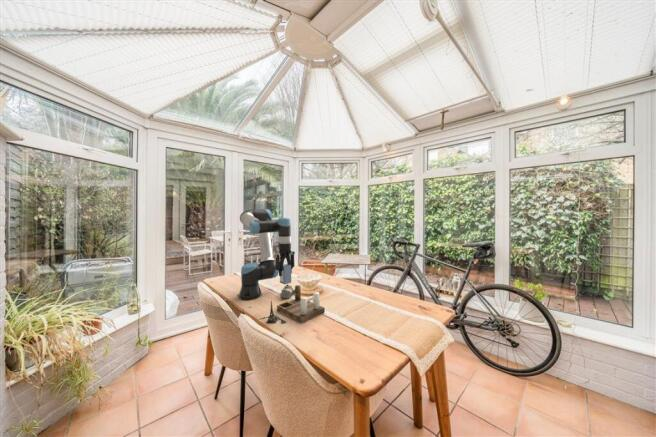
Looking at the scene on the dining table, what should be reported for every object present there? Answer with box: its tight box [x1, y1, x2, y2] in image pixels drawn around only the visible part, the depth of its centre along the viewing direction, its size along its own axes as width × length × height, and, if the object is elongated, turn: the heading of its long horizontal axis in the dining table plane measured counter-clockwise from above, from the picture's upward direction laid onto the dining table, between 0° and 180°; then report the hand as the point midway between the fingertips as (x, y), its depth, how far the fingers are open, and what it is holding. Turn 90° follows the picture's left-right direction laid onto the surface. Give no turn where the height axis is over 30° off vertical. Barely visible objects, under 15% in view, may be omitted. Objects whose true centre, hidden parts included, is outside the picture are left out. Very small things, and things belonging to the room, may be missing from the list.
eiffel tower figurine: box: [258, 300, 288, 325], centre depth 134 cm, size 15×10×13 cm
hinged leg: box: [301, 291, 320, 315], centre depth 140 cm, size 14×4×9 cm, turn 137°
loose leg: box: [279, 263, 292, 285], centre depth 148 cm, size 5×5×11 cm
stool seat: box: [276, 284, 326, 324], centre depth 146 cm, size 24×18×12 cm
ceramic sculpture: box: [280, 284, 295, 299], centre depth 172 cm, size 11×9×15 cm
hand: (285, 279), depth 148 cm, fingers closed on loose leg, 5 cm apart
